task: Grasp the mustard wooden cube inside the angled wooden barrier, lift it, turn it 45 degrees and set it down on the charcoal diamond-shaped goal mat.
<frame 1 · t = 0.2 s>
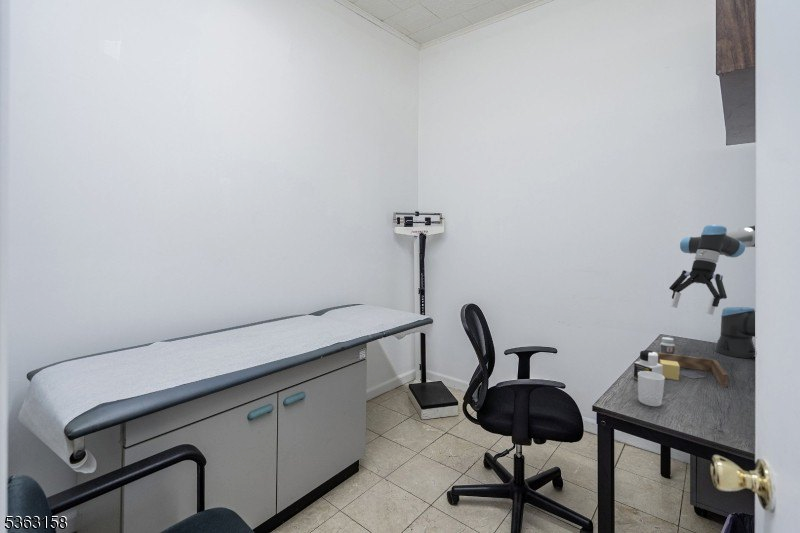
hand: (691, 310, 152), 28 cm above the table, tool tilted 20°, fingers open, 13 cm apart
pill bottle: (666, 359, 174), on the table
cube: (668, 376, 153), on the table
white cup: (649, 402, 130), on the table
goal mat: (690, 375, 154), on the table
medicine bottle: (647, 380, 149), on the table
angled wooden barrier: (687, 373, 155), on the table
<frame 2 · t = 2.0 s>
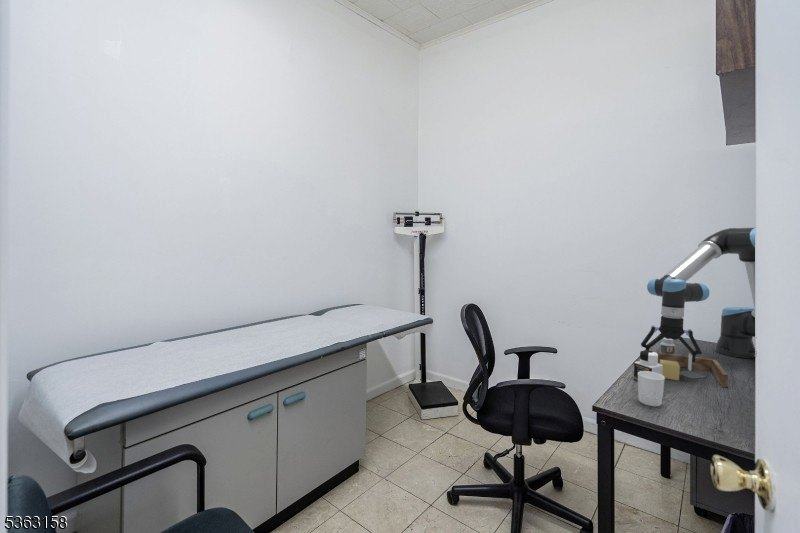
hand: (668, 366, 152), 4 cm above the table, tool pointing down, fingers open, 13 cm apart
nothing on the table moved.
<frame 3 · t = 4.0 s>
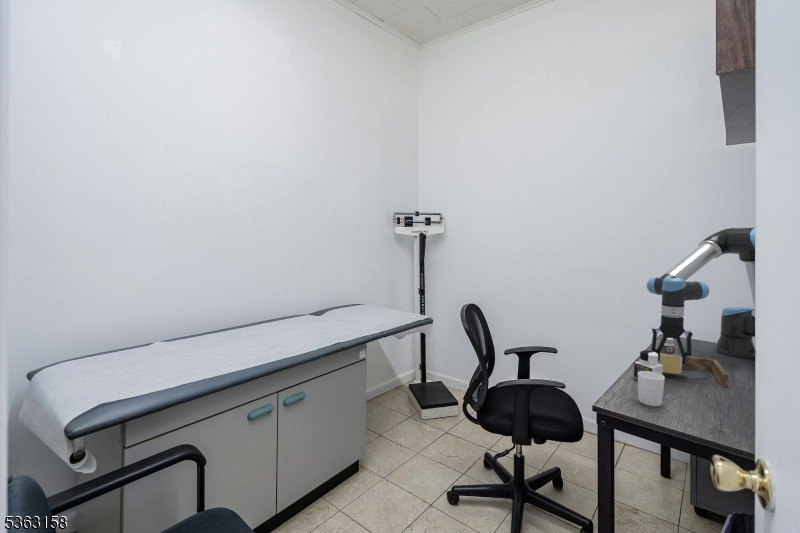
hand: (670, 369, 152), 3 cm above the table, tool pointing down, fingers closed on cube, 6 cm apart
cube: (669, 370, 153), point 2 cm above the table, touching gripper
everything else where it was.
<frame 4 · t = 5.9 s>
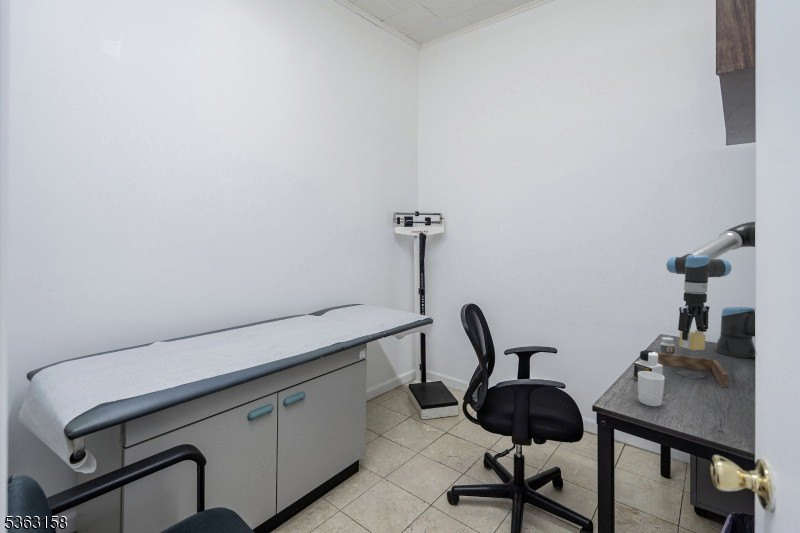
hand: (692, 346, 153), 12 cm above the table, tool pointing down, fingers closed on cube, 6 cm apart
cube: (691, 347, 153), point 12 cm above the table, touching gripper
everything else where it was.
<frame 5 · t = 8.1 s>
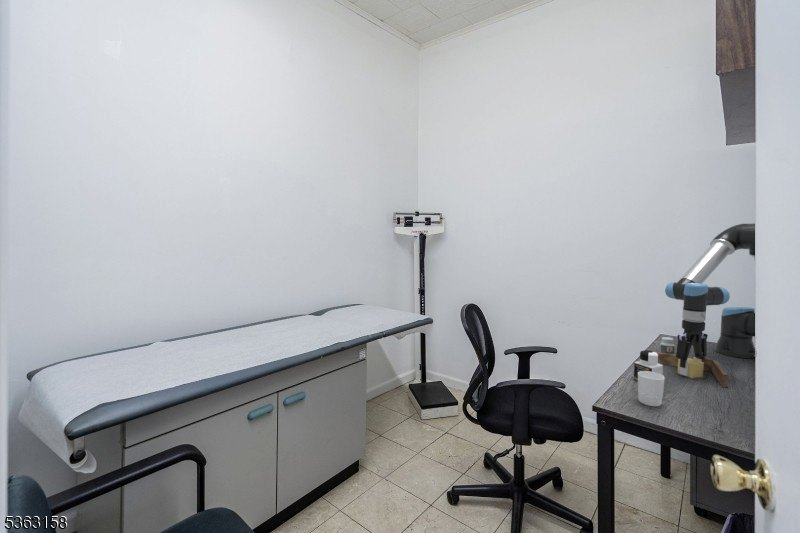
hand: (690, 373, 154), 0 cm above the table, tool pointing down, fingers closed on cube, 6 cm apart
cube: (690, 374, 154), resting on goal mat, touching gripper
everything else where it was.
when the fingers open (0 cm above the table, at t = 8.3 s): cube stays where it is, resting on goal mat.
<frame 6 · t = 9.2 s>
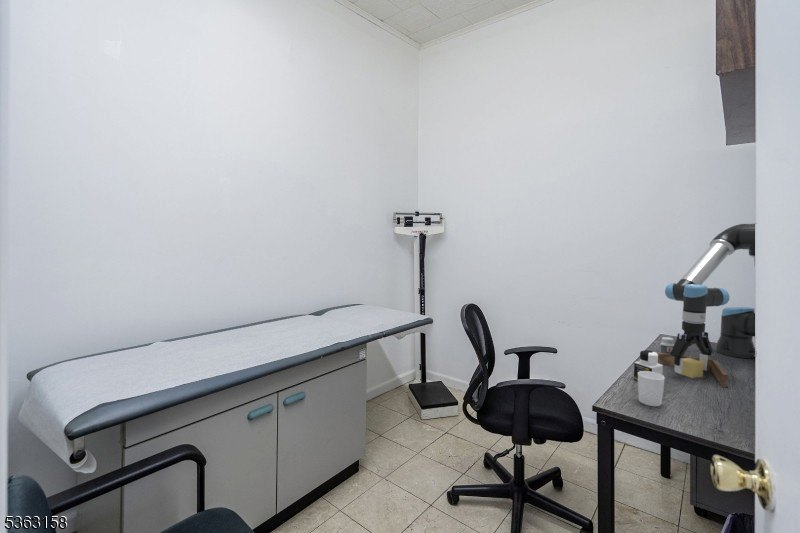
hand: (690, 371, 154), 2 cm above the table, tool pointing down, fingers open, 13 cm apart
cube: (689, 374, 154), resting on goal mat
everything else where it was.
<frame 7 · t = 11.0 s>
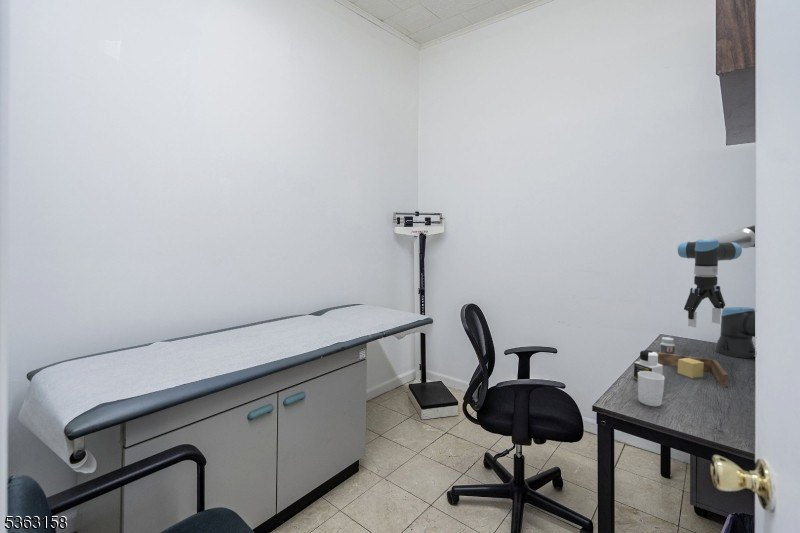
hand: (704, 324, 156), 21 cm above the table, tool pointing down, fingers open, 13 cm apart
nothing on the table moved.
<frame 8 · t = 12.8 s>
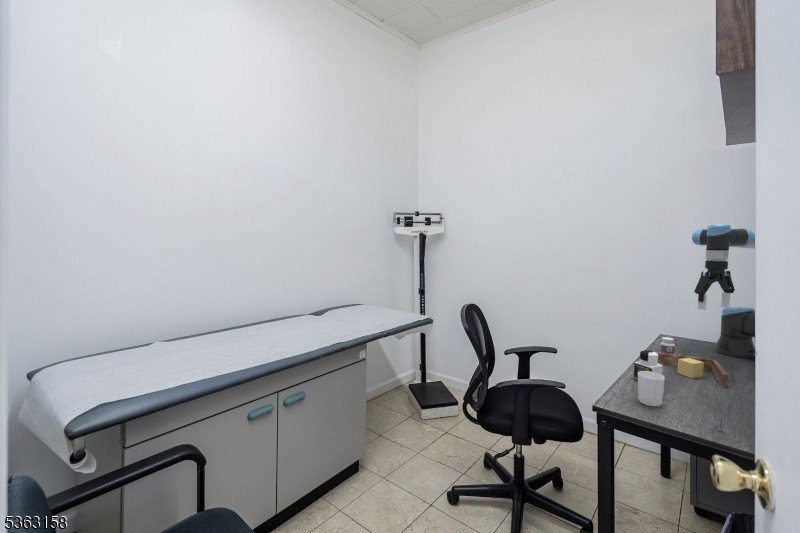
hand: (713, 308, 160), 27 cm above the table, tool pointing down, fingers open, 13 cm apart
nothing on the table moved.
at the end: cube 0.2 cm from the goal mat (horizontally); cube tilted 0°; the gripper is holding nothing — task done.
